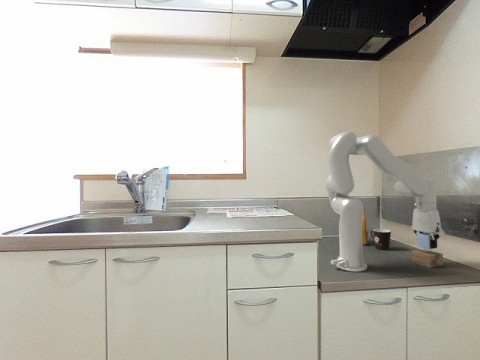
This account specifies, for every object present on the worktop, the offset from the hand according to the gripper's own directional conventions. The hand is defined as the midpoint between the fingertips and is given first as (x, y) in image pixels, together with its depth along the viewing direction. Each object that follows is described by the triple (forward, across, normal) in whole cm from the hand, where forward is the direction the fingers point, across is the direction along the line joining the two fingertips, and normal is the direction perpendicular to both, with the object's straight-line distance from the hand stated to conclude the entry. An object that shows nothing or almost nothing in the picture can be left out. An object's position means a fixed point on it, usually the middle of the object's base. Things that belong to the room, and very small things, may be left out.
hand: (427, 246), depth 117 cm
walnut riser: (+8, 0, 0) cm, 8 cm away
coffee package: (+8, -40, -3) cm, 41 cm away
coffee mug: (+8, -27, +2) cm, 28 cm away
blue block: (+1, 0, 0) cm, 1 cm away
